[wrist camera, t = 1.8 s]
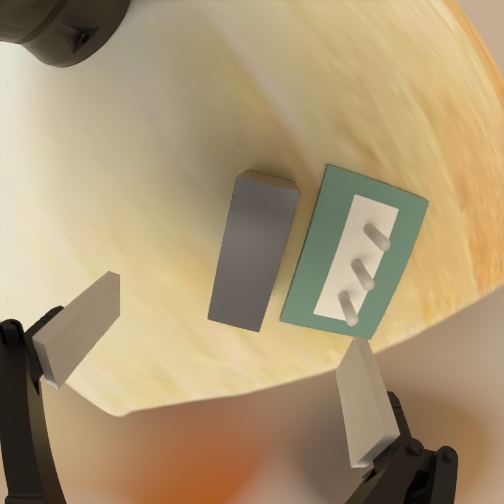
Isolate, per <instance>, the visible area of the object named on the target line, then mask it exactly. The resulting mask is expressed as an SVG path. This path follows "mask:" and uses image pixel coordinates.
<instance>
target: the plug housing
mask: <svg viewBox="0 0 504 504" xmlns="http://www.w3.org/2000/svg"><path fill="white" fill-rule="evenodd" d="M299 196H300V191H299V189H298V187H297V185H296V183H295V182H293V181H290V180H286V179H282V178H278V177H274V176H270V175H266V174H262V173H258V172H254V171H250V170H247V171H245V172H244V173H242V174H240V175H238V176H237V178H236V183H235V187H234V191H233V196H232V200H231V205H230V210H229V214H228V219H227V223H226V228H225V233H224V237H223V242H222V247H221V252H220V257H219V262H218V267H217V272H216V277H215V282H214V287H213V292H212V297H211V302H210V307H209V313H208V318H207V319H209V320H212V321H216V322H220V323H224V324H227V325H231V326H235V327H239V328H243V329H247V330H251V331H255V332H259V331H260V328H261V324H262V321H263V318H264V315H265V312H266V308H267V305H268V302H269V299H270V295H271V292H272V289H273V286H274V282H275V279H276V276H277V272H278V269H279V266H280V262H281V259H282V255H283V252H284V249H285V245H286V242H287V238H288V235H289V231H290V228H291V224H292V221H293V217H294V214H295V210H296V206H297V203H298V199H299Z"/></svg>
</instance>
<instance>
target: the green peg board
mask: <svg viewBox="0 0 504 504" xmlns="http://www.w3.org/2000/svg"><path fill="white" fill-rule="evenodd" d="M428 203H429V201H427V200H424V199H422V198H420V197H417V196H415V195H412V194H410V193H407V192H405V191H402V190H400V189H397V188H395V187H392V186H389V185H387V184H384V183H381V182H379V181H376V180H373V179H370V178H367V177H365V176H362V175H359V174H356V173H353V172H350V171H347V170H344V169H340V168H337V167H334V166H331V165H328V164H327V165H326V169H325V173H324V176H323V180H322V184H321V187H320V191H319V194H318V198H317V201H316V205H315V208H314V211H313V215H312V218H311V222H310V225H309V228H308V232H307V235H306V238H305V241H304V245H303V248H302V251H301V254H300V257H299V261H298V264H297V267H296V270H295V273H294V276H293V279H292V282H291V285H290V288H289V291H288V294H287V297H286V300H285V303H284V306H283V309H282V312H281V315H280V321H281V322H285V323H290V324H294V325H299V326H303V327H308V328H313V329H317V330H322V331H327V332H332V333H337V334H343V335H348V336H353V337H355V336H358V337H364V338H367V339H370V340H371V338H372V336H373V335H374V333H375V331H376V329H377V327H378V325H379V323H380V321H381V319H382V317H383V315H384V313H385V311H386V309H387V307H388V305H389V303H390V301H391V299H392V296H393V294H394V292H395V290H396V288H397V285H398V283H399V281H400V279H401V276H402V274H403V272H404V269H405V267H406V264H407V262H408V259H409V257H410V254H411V252H412V249H413V247H414V244H415V241H416V239H417V236H418V233H419V230H420V228H421V225H422V222H423V219H424V216H425V213H426V210H427V207H428Z"/></svg>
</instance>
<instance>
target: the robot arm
mask: <svg viewBox="0 0 504 504" xmlns="http://www.w3.org/2000/svg"><path fill="white" fill-rule="evenodd" d="M129 1H130V0H0V41H3V42H10V43H15V44H20V45H22V46H23V47H25V48H26V49H27V50H28V51H29V52H30V53H32V54H33V55H34V56H35V57H36V58H37V59H39V60H40V61H41V62H43V63H45V64H47V65H51V66H56V67H68V66H72V65H74V64H77V63H79V62H81V61H82V60H84V59H86V58H87V57H89V56H90V55H91V54H93V53H94V52H95V51H96V50H97V49H98V48H100V47H101V46H102V45H103V44H104V43H105V42H106V40H107V39H108V38H109V37H110V36H111V35H112V33H113V32H114V31H115V29H116V28H117V27H118V25H119V24H120V22H121V20H122V18H123V17H124V15H125V13H126V10H127V8H128V5H129ZM119 316H120V275H119V274H116V273H113V272H110V271H108V272H107V273H106V274H105V275H103V276H102V277H101V278H100V279H98V280H97V281H96V282H95V283H93V284H92V285H91V286H90V287H89V288H87V289H86V290H85V291H84V292H83V293H81V294H80V295H79V296H78V297H77V298H75V299H74V300H73V301H72V302H71V303H70V304H68V305H67V306H66V307H65V308H64V307H62V306H58V307H55V308H53V309H51V310H50V311H49V312H47V313H46V314H45V316H43V317H42V318H40V320H38V321H37V322H36V323H35V324H34V325H32V326H31V327H30V328H29V329H28V330H27V331H26V332H25V333H24V331H23V327H22V324H21V323H20V322H19V321H17V320H15V319H8V320H5V321H3V322H1V323H0V442H1V451H2V459H3V466H4V472H5V477H6V482H7V487H8V496H7V497H6V498H5V504H67V503H66V501H65V498H64V495H63V492H62V489H61V486H60V483H59V479H58V476H57V472H56V468H55V465H54V461H53V457H52V452H51V448H50V443H49V438H48V433H47V427H46V421H45V415H44V408H43V400H42V391H41V382H40V379H39V378H40V377H41V376H42V375H43V374H44V377H45V380H46V382H47V383H49V384H50V385H52V386H53V387H55V388H57V389H60V387H61V386H62V385H63V383H64V382H65V381H66V380H67V378H68V377H69V376H70V375H71V373H72V372H73V371H74V370H75V368H76V367H77V366H78V365H79V363H80V362H81V361H82V360H83V358H84V357H85V356H86V355H87V354H88V352H89V351H90V350H91V349H92V348H93V346H94V345H95V344H96V343H97V342H98V340H99V339H100V338H101V337H102V336H103V335H104V333H105V332H106V331H107V330H108V329H109V328H110V326H111V325H112V324H113V323H114V322H115V321H116V319H117V318H118V317H119ZM336 376H337V382H338V386H339V392H340V398H341V404H342V409H343V415H344V421H345V428H346V434H347V441H348V448H349V455H350V462H351V467H366V466H367V465H369V464H370V463H371V462H372V461H373V463H374V468H372V469H371V470H370V471H369V472H367V473H366V474H365V475H364V476H363V477H362V478H365V479H364V480H363V481H362V483H361V484H360V485H359V486H358V488H357V489H356V490H355V492H354V493H353V494H352V495H351V497H350V498H349V499H348V500H347V502H346V503H345V504H454V499H455V491H456V480H457V468H458V455H457V453H456V451H455V450H454V449H453V448H451V447H449V446H443V447H441V448H440V449H439V450H438V451H431V450H427V449H424V447H423V445H422V443H420V442H419V441H418V440H416V439H414V438H412V437H411V434H410V431H409V428H408V425H407V422H406V419H405V416H404V415H403V414H404V413H403V410H402V409H401V405H400V402H399V399H398V398H397V397H396V395H395V394H394V393H393V392H390V391H386V389H385V386H384V383H383V380H382V378H381V375H380V372H379V369H378V366H377V364H376V361H375V358H374V355H373V353H372V350H371V348H370V345H369V342H368V340H367V338H364V337H358V336H355V337H354V339H353V340H352V342H351V344H350V346H349V348H348V350H347V352H346V354H345V355H344V357H343V359H342V361H341V363H340V365H339V366H338V368H337V370H336Z"/></svg>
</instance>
